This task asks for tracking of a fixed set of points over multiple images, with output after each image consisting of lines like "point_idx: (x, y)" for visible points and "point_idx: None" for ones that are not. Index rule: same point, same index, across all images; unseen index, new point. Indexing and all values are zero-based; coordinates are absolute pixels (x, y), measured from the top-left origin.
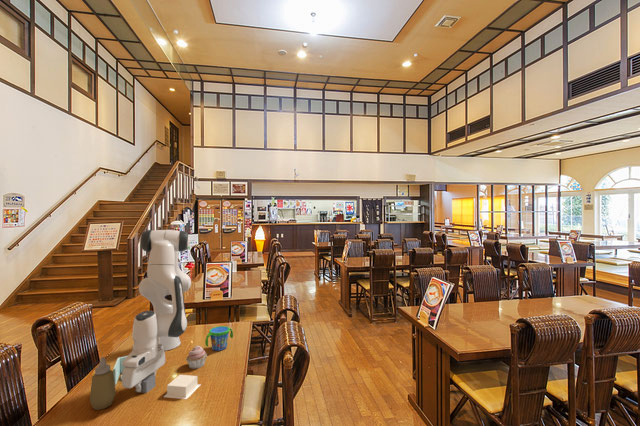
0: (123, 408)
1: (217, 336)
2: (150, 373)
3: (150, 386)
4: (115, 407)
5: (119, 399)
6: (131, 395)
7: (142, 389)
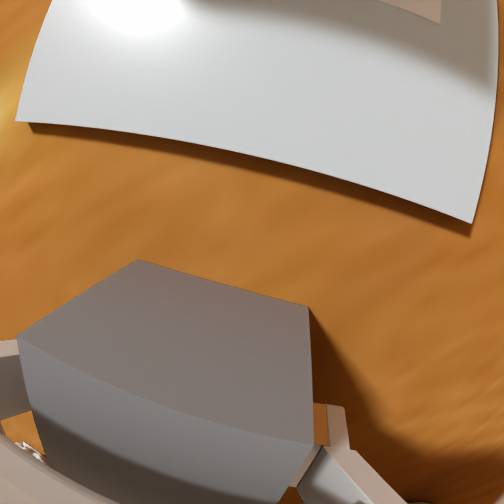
0: (498, 404)
1: None
2: (50, 489)
3: (212, 318)
4: (452, 463)
5: None
6: None
7: None
